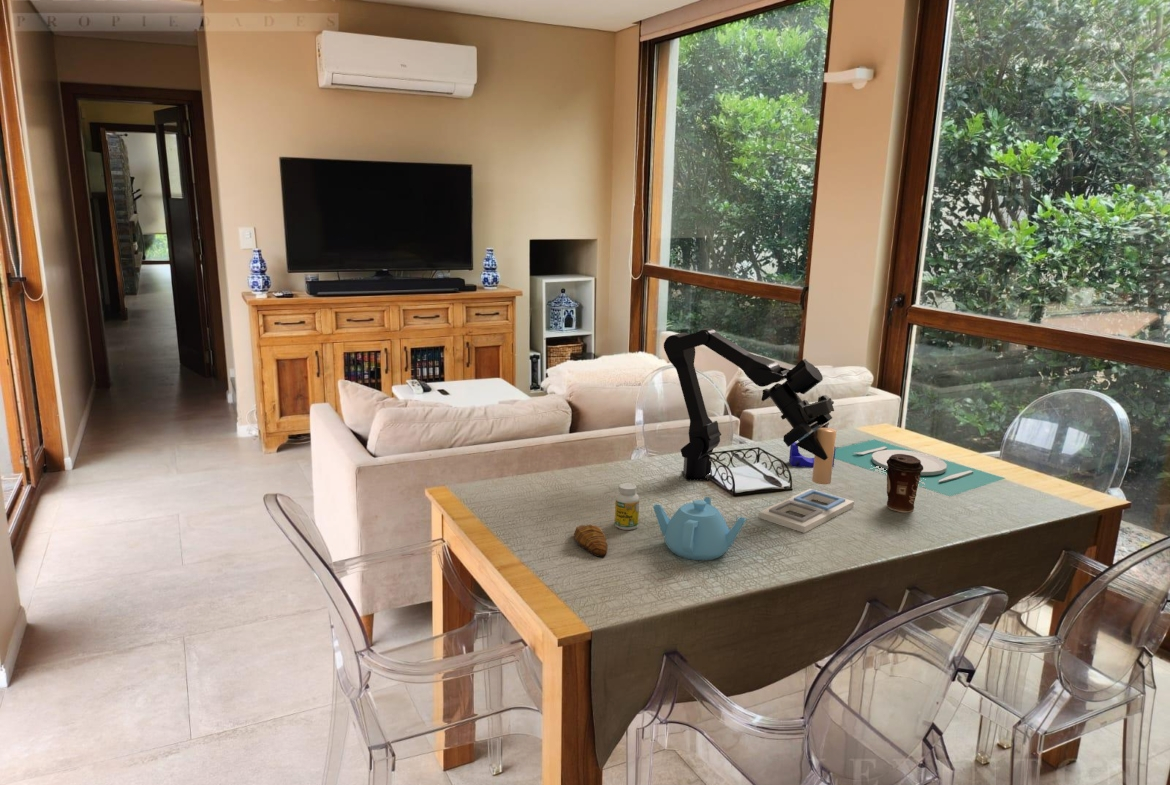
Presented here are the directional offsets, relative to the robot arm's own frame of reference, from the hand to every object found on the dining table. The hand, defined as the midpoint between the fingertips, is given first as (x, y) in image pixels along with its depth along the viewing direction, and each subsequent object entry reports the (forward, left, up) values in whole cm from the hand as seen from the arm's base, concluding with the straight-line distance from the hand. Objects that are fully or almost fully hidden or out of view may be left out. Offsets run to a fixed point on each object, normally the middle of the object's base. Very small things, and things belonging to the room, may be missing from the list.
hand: (829, 456), depth 197 cm
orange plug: (-1, +1, -7) cm, 7 cm away
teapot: (-38, -21, -13) cm, 45 cm away
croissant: (-61, -18, -14) cm, 65 cm away
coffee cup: (+19, -1, -13) cm, 23 cm away
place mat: (+39, +31, -14) cm, 52 cm away
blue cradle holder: (+11, +32, -14) cm, 37 cm away
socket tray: (-5, -3, -13) cm, 14 cm away
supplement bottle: (-51, -8, -13) cm, 53 cm away
